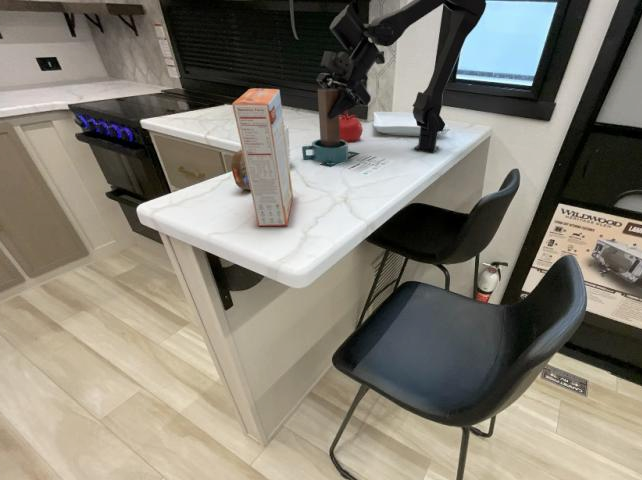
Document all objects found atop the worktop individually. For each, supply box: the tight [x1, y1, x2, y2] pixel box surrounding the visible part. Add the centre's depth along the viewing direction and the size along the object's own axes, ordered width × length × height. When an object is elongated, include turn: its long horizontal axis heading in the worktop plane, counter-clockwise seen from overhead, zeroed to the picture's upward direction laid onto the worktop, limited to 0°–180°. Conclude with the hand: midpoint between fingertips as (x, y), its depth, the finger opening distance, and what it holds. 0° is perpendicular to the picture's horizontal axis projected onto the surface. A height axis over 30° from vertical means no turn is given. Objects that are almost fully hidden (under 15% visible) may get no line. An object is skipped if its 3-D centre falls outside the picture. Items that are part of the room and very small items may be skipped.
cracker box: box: [231, 87, 294, 227], centre depth 62 cm, size 14×6×21 cm, turn 5°
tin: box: [230, 148, 251, 191], centre depth 77 cm, size 15×3×8 cm, turn 168°
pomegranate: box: [339, 110, 364, 143], centre depth 109 cm, size 10×10×9 cm
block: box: [317, 88, 340, 146], centre depth 89 cm, size 4×4×13 cm
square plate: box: [372, 111, 451, 137], centre depth 127 cm, size 27×27×4 cm
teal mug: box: [301, 138, 349, 164], centre depth 94 cm, size 13×10×4 cm
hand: (324, 116), depth 88 cm, fingers closed on block, 4 cm apart
